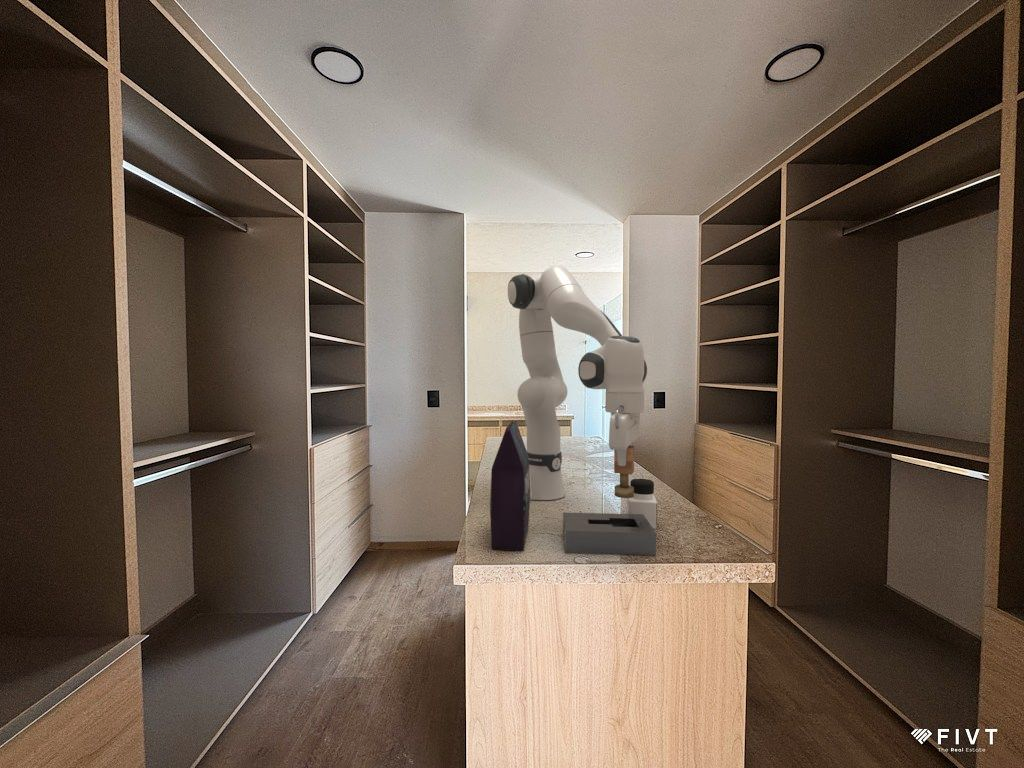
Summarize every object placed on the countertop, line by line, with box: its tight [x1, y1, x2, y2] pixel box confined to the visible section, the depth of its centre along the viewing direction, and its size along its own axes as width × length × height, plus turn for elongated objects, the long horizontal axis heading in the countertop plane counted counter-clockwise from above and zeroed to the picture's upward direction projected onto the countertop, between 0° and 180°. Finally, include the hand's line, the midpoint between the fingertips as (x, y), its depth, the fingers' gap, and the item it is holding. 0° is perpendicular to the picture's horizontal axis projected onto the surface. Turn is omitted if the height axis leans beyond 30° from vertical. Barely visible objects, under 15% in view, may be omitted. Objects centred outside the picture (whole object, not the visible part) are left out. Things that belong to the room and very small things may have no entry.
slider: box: [613, 445, 635, 499], centre depth 106 cm, size 4×4×12 cm
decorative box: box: [489, 420, 531, 552], centre depth 110 cm, size 8×16×28 cm, turn 174°
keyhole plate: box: [562, 511, 657, 556], centre depth 107 cm, size 20×13×5 cm, turn 86°
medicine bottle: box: [626, 477, 658, 530], centre depth 120 cm, size 7×7×12 cm
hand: (624, 463), depth 106 cm, fingers closed on slider, 4 cm apart
